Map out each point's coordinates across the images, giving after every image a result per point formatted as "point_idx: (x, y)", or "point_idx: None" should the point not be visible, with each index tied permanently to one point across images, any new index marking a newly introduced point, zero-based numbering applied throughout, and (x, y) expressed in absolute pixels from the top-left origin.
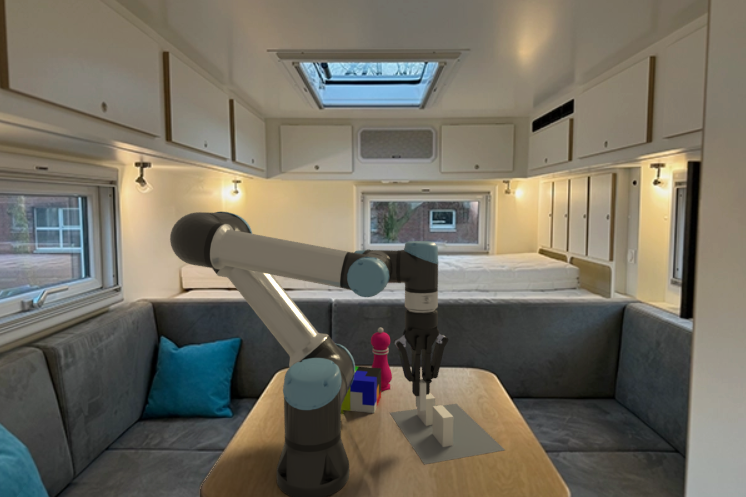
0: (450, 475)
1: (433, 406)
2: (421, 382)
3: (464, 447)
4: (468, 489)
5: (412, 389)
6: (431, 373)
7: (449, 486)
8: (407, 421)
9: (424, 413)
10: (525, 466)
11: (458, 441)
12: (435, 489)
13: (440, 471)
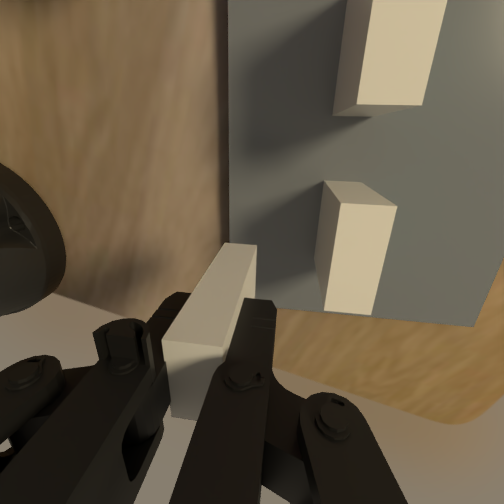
0: (279, 329)
1: (343, 205)
2: (189, 405)
3: None
4: (290, 370)
5: (157, 311)
6: (289, 492)
7: None
8: (276, 56)
9: (341, 93)
10: (468, 364)
11: None
12: None
13: None
